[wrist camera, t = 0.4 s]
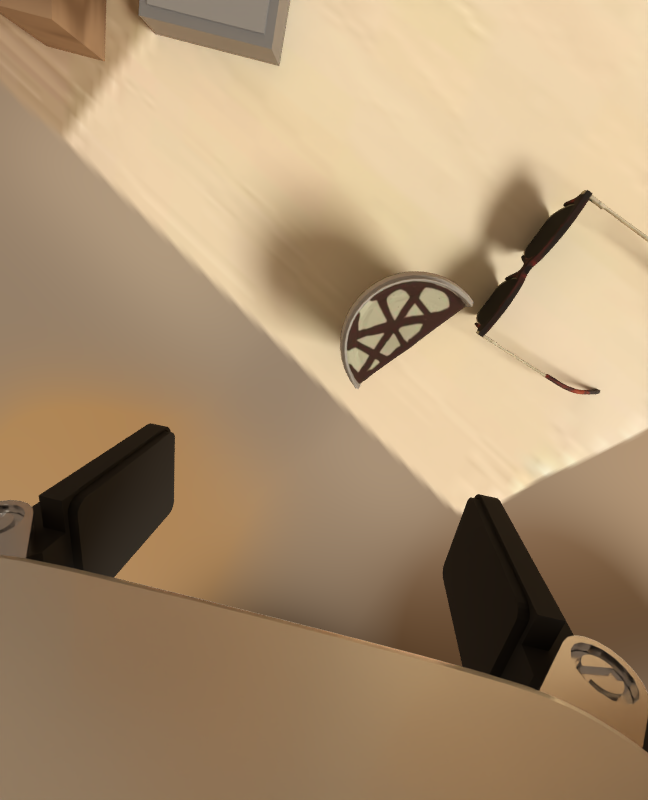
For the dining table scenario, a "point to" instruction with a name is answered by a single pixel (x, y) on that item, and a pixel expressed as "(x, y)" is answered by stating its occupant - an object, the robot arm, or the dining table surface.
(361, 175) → the dining table surface
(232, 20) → the tray
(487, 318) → the sunglasses
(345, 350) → the food container
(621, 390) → the dining table surface
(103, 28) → the cube
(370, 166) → the dining table surface
